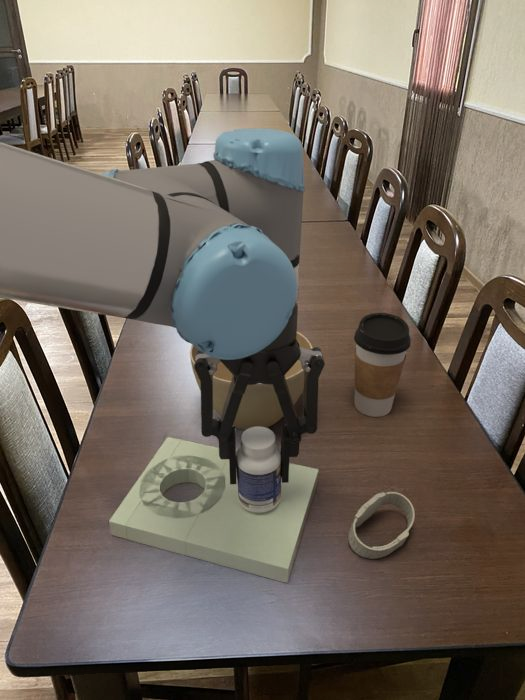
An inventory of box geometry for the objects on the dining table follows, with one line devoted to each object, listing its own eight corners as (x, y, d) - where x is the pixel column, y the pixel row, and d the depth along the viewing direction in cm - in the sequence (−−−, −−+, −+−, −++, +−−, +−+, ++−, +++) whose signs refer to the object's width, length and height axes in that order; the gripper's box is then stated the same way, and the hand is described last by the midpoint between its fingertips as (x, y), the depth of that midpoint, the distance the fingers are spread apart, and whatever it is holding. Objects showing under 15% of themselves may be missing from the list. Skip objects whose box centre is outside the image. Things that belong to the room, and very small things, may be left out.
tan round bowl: (312, 454, 77) (317, 385, 71) (187, 451, 78) (181, 382, 71) (306, 382, 93) (310, 320, 86) (202, 381, 93) (198, 319, 87)
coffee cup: (398, 393, 90) (411, 314, 82) (400, 425, 83) (415, 341, 75) (347, 388, 91) (356, 309, 84) (345, 418, 84) (354, 336, 77)
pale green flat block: (111, 535, 65) (108, 521, 64) (168, 449, 78) (167, 436, 77) (287, 583, 59) (288, 569, 58) (317, 482, 73) (318, 469, 71)
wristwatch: (383, 502, 70) (388, 473, 67) (424, 532, 66) (431, 503, 63) (335, 539, 65) (338, 510, 62) (376, 574, 60) (382, 544, 58)
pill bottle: (285, 510, 65) (286, 449, 60) (241, 517, 64) (238, 456, 59) (275, 478, 69) (276, 419, 64) (234, 484, 68) (231, 425, 63)
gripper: (346, 283, 56) (330, 451, 68) (168, 286, 55) (183, 456, 67) (361, 317, 50) (340, 496, 62) (160, 320, 49) (178, 501, 61)
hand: (258, 474), depth 64 cm, fingers closed on pill bottle, 5 cm apart
